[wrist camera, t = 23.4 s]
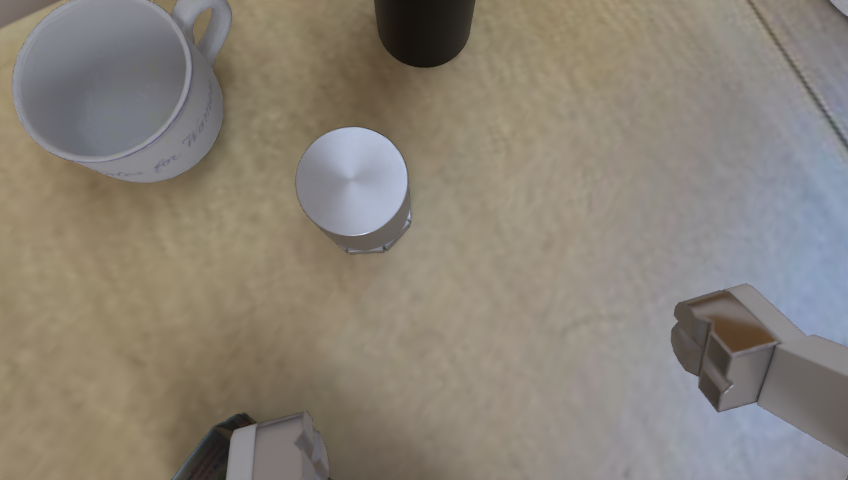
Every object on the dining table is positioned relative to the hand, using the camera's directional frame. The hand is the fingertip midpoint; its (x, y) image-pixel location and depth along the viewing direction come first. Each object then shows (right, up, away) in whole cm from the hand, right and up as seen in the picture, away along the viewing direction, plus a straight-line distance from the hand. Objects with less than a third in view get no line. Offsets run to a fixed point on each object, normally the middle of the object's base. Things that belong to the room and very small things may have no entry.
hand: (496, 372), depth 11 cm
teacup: (-19, +12, +27) cm, 36 cm away
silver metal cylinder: (-6, +5, +26) cm, 27 cm away
